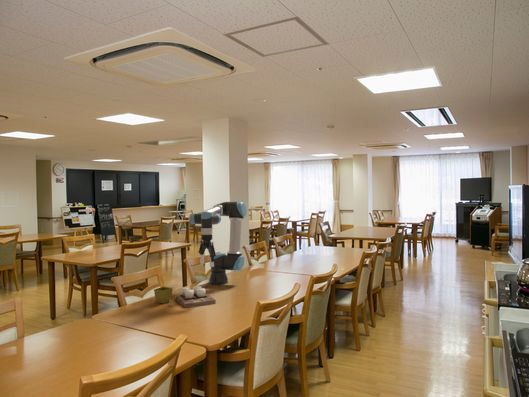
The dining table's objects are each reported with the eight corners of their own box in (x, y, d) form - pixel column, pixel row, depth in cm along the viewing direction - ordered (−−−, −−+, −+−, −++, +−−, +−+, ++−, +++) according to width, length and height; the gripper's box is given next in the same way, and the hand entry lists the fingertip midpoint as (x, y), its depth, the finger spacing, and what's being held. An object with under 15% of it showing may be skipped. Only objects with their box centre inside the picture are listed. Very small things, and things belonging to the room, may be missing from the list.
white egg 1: (180, 293, 264) (180, 287, 264) (188, 292, 267) (188, 286, 267) (183, 295, 259) (182, 289, 259) (191, 294, 262) (191, 288, 262)
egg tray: (175, 298, 265) (175, 294, 265) (203, 295, 274) (203, 291, 274) (185, 307, 243) (185, 303, 243) (215, 303, 253) (215, 299, 253)
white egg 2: (192, 292, 268) (192, 286, 268) (200, 291, 270) (200, 285, 270) (194, 294, 263) (194, 288, 263) (202, 293, 265) (202, 287, 265)
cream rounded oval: (184, 296, 257) (183, 290, 257) (192, 295, 260) (192, 289, 260) (186, 298, 252) (186, 292, 252) (194, 297, 255) (194, 291, 255)
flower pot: (153, 303, 254) (153, 289, 254) (163, 299, 262) (162, 286, 262) (164, 304, 250) (163, 290, 250) (173, 301, 258) (173, 287, 258)
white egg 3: (195, 295, 261) (195, 288, 261) (203, 294, 263) (203, 287, 263) (198, 297, 256) (198, 290, 256) (206, 296, 258) (206, 289, 258)
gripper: (193, 233, 275) (193, 263, 275) (210, 235, 255) (211, 268, 255) (203, 232, 280) (203, 262, 280) (220, 235, 260) (221, 267, 260)
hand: (207, 265), depth 268 cm, fingers open, 13 cm apart
